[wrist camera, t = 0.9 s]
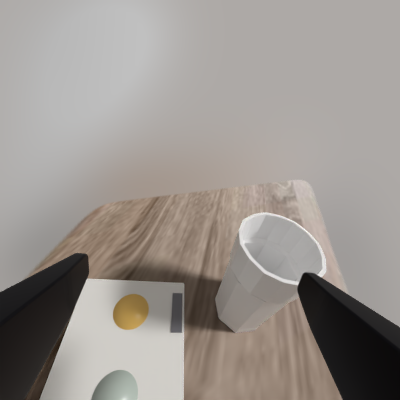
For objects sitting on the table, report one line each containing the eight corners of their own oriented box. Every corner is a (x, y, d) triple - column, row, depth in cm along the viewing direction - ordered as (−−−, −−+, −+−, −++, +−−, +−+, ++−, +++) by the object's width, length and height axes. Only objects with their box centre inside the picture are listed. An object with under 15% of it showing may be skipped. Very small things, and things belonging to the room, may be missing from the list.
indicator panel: (179, 661, 10) (182, 673, 9) (-78, 721, 8) (-94, 742, 8) (183, 286, 23) (184, 282, 23) (87, 282, 22) (85, 278, 21)
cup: (268, 352, 20) (336, 300, 13) (201, 328, 21) (233, 265, 14) (268, 288, 25) (317, 226, 18) (214, 270, 26) (242, 204, 19)
